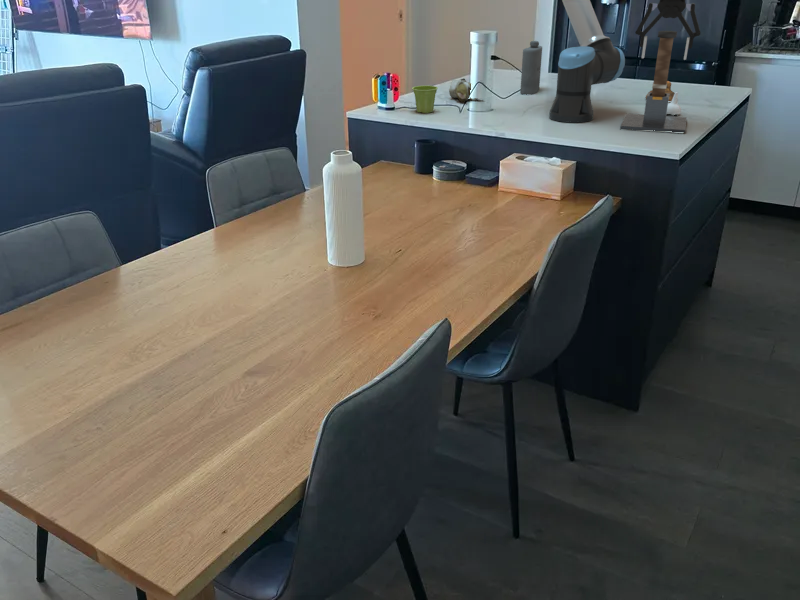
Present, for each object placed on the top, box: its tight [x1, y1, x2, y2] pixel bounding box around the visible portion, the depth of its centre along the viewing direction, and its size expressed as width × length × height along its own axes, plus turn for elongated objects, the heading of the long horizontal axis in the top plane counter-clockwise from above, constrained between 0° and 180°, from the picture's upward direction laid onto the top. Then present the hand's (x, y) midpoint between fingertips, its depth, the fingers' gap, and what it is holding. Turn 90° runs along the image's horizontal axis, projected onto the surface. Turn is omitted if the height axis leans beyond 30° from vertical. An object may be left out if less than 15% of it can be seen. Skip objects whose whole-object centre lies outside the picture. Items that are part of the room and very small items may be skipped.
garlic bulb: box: [666, 91, 682, 116], centre depth 248 cm, size 6×6×8 cm
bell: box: [645, 80, 675, 101], centre depth 272 cm, size 12×12×7 cm
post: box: [651, 30, 678, 96], centre depth 227 cm, size 6×6×22 cm
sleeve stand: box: [619, 91, 688, 133], centre depth 233 cm, size 20×20×10 cm
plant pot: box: [411, 85, 439, 114], centre depth 258 cm, size 9×9×9 cm
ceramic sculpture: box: [448, 78, 472, 102], centre depth 277 cm, size 11×9×15 cm
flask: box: [519, 40, 543, 96], centre depth 288 cm, size 15×6×20 cm, turn 155°
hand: (663, 58), depth 226 cm, fingers open, 12 cm apart
